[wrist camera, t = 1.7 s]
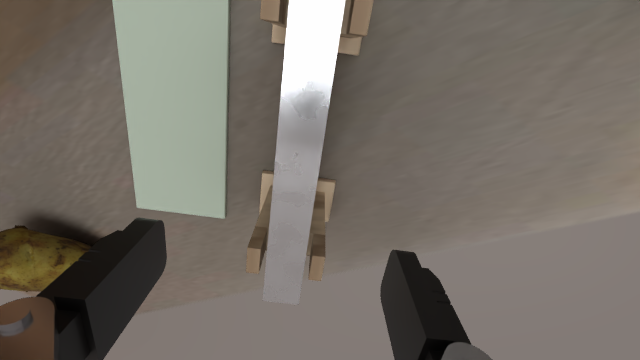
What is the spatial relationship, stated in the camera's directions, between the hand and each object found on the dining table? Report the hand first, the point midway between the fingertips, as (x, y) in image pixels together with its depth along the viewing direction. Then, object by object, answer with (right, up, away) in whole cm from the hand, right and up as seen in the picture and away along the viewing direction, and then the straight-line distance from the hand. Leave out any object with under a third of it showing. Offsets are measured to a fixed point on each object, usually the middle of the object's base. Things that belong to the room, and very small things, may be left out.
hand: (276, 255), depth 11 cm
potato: (-28, -5, +27) cm, 40 cm away
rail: (0, +5, +12) cm, 13 cm away
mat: (-13, +11, +20) cm, 26 cm away
